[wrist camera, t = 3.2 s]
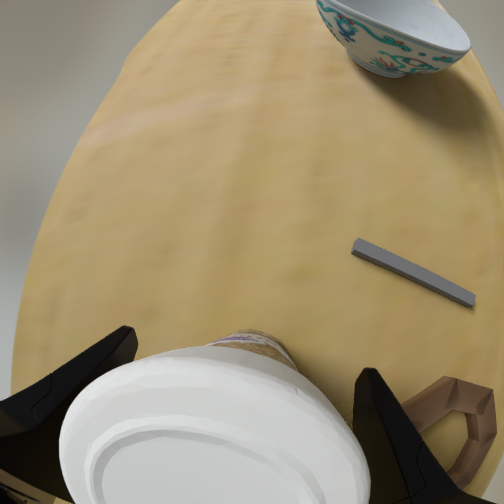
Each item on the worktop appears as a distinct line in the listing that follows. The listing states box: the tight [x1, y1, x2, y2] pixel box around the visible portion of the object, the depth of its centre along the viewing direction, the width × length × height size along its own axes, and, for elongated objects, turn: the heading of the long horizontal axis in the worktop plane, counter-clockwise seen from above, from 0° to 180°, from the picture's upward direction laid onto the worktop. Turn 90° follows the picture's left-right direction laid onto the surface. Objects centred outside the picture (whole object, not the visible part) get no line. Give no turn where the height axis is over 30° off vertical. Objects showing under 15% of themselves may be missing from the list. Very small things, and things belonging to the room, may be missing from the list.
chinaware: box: [315, 0, 471, 78], centre depth 18 cm, size 15×15×8 cm
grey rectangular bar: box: [351, 238, 476, 307], centre depth 16 cm, size 10×1×1 cm, turn 66°
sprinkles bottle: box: [59, 330, 371, 504], centre depth 9 cm, size 5×5×14 cm
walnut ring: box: [401, 376, 497, 490], centre depth 12 cm, size 11×11×2 cm
